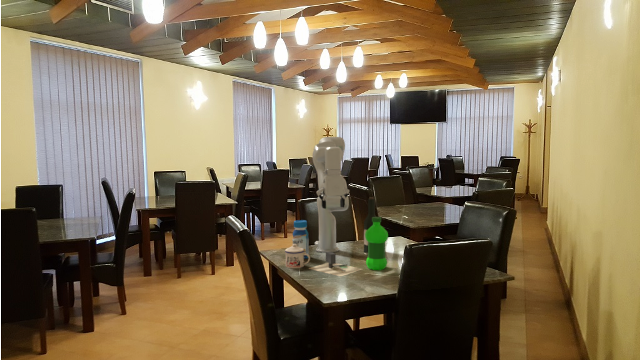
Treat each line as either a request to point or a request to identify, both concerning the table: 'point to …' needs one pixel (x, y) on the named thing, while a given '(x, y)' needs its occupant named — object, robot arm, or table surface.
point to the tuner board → (335, 269)
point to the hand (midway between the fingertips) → (333, 207)
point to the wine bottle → (369, 220)
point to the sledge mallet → (332, 259)
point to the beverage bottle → (301, 236)
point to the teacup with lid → (295, 257)
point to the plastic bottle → (376, 245)
